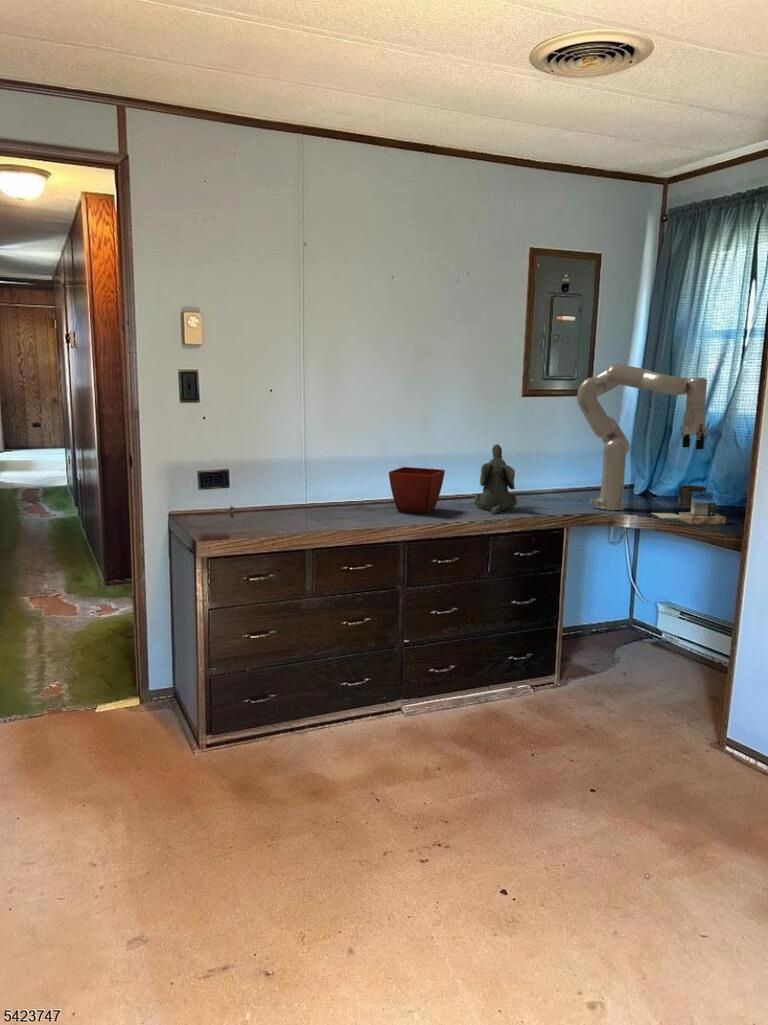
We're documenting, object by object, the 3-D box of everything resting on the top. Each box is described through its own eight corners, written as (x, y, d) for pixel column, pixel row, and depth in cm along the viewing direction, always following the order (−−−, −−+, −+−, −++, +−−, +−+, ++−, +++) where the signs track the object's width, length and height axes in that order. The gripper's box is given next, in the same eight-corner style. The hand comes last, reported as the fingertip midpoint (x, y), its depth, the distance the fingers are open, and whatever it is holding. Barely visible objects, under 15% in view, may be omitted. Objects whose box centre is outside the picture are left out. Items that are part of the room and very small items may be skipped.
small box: (700, 507, 350) (702, 485, 348) (704, 510, 343) (707, 487, 341) (676, 506, 351) (678, 484, 349) (680, 509, 344) (682, 486, 342)
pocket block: (691, 524, 310) (692, 517, 309) (678, 519, 319) (679, 512, 319) (725, 524, 312) (725, 517, 312) (711, 519, 322) (711, 512, 321)
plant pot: (386, 511, 316) (387, 471, 313) (402, 504, 334) (403, 466, 331) (430, 516, 310) (431, 475, 307) (443, 508, 327) (445, 469, 324)
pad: (662, 519, 319) (662, 517, 319) (650, 514, 329) (651, 513, 329) (684, 518, 321) (684, 517, 321) (672, 514, 331) (672, 513, 330)
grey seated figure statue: (493, 503, 345) (497, 443, 340) (526, 510, 328) (530, 448, 323) (461, 506, 334) (464, 444, 329) (493, 514, 317) (497, 450, 312)
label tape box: (692, 522, 314) (696, 493, 311) (688, 520, 318) (692, 491, 315) (714, 523, 314) (717, 493, 311) (709, 521, 318) (713, 492, 315)
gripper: (675, 406, 327) (673, 446, 329) (699, 408, 310) (696, 450, 313) (691, 406, 328) (688, 446, 331) (716, 408, 311) (713, 449, 314)
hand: (692, 448), depth 322 cm, fingers open, 9 cm apart
